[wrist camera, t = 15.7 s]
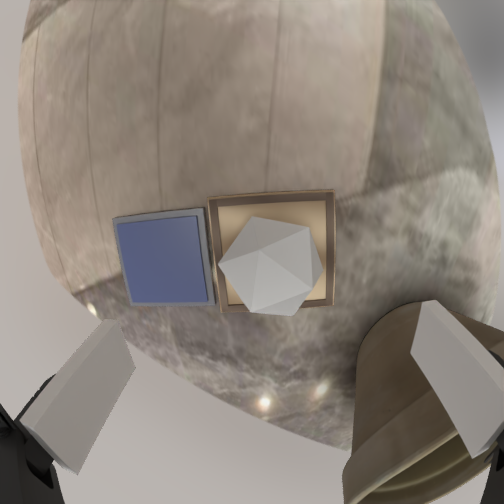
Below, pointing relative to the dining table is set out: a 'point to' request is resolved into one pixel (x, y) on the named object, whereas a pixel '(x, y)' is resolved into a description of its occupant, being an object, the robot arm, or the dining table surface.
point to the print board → (284, 210)
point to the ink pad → (166, 258)
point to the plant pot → (406, 420)
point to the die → (272, 266)
